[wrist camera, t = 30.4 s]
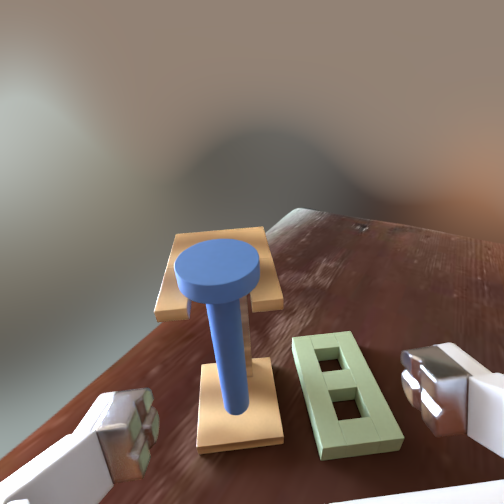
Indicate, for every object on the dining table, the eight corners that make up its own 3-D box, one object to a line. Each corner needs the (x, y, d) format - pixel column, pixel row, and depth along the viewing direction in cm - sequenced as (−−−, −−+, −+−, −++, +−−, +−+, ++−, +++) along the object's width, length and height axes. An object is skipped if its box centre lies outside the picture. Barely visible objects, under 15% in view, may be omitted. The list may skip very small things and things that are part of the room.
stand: (285, 454, 30) (288, 297, 19) (197, 465, 30) (148, 311, 19) (270, 364, 39) (265, 224, 28) (203, 371, 39) (172, 232, 28)
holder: (348, 343, 42) (350, 330, 40) (399, 450, 30) (404, 438, 28) (291, 349, 41) (292, 337, 40) (320, 461, 29) (322, 448, 28)
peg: (225, 369, 33) (204, 233, 24) (274, 388, 31) (272, 245, 22) (195, 418, 29) (155, 273, 19) (251, 445, 26) (235, 294, 17)
